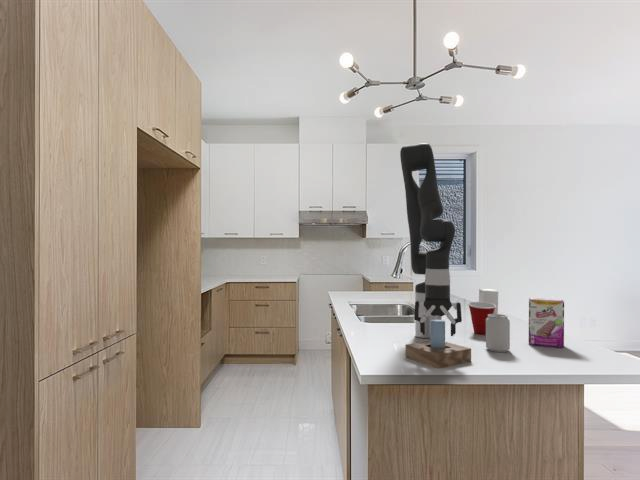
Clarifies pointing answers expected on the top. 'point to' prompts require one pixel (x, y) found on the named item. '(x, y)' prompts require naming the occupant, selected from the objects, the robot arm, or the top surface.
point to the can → (498, 333)
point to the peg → (437, 334)
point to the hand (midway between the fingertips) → (437, 334)
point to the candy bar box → (546, 322)
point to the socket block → (438, 354)
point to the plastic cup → (480, 315)
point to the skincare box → (489, 297)
